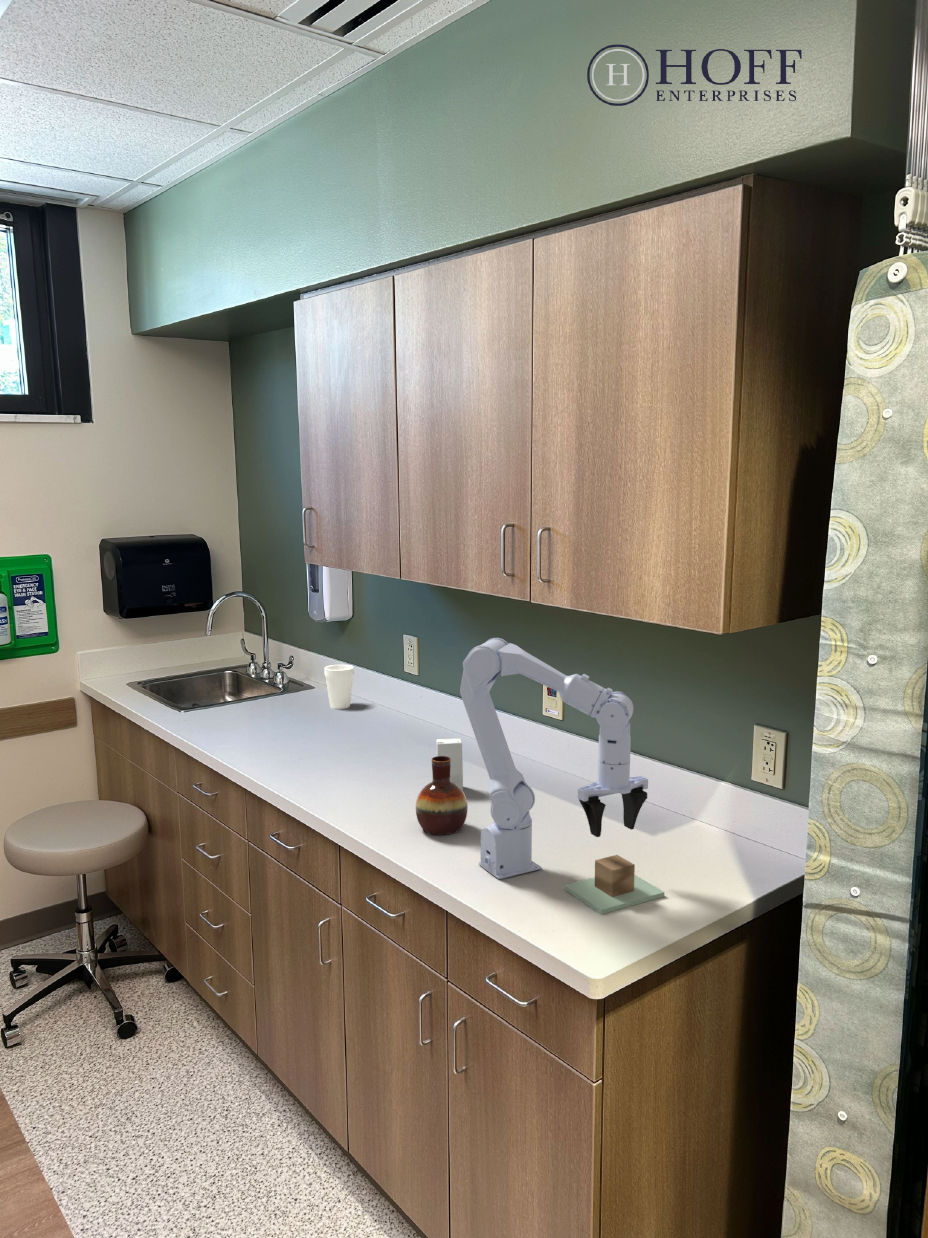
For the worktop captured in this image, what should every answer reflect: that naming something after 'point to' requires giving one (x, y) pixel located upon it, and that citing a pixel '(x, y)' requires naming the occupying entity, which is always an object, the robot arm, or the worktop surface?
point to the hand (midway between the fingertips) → (612, 831)
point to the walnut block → (614, 875)
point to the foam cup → (339, 685)
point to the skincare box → (452, 758)
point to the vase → (441, 801)
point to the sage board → (607, 903)
